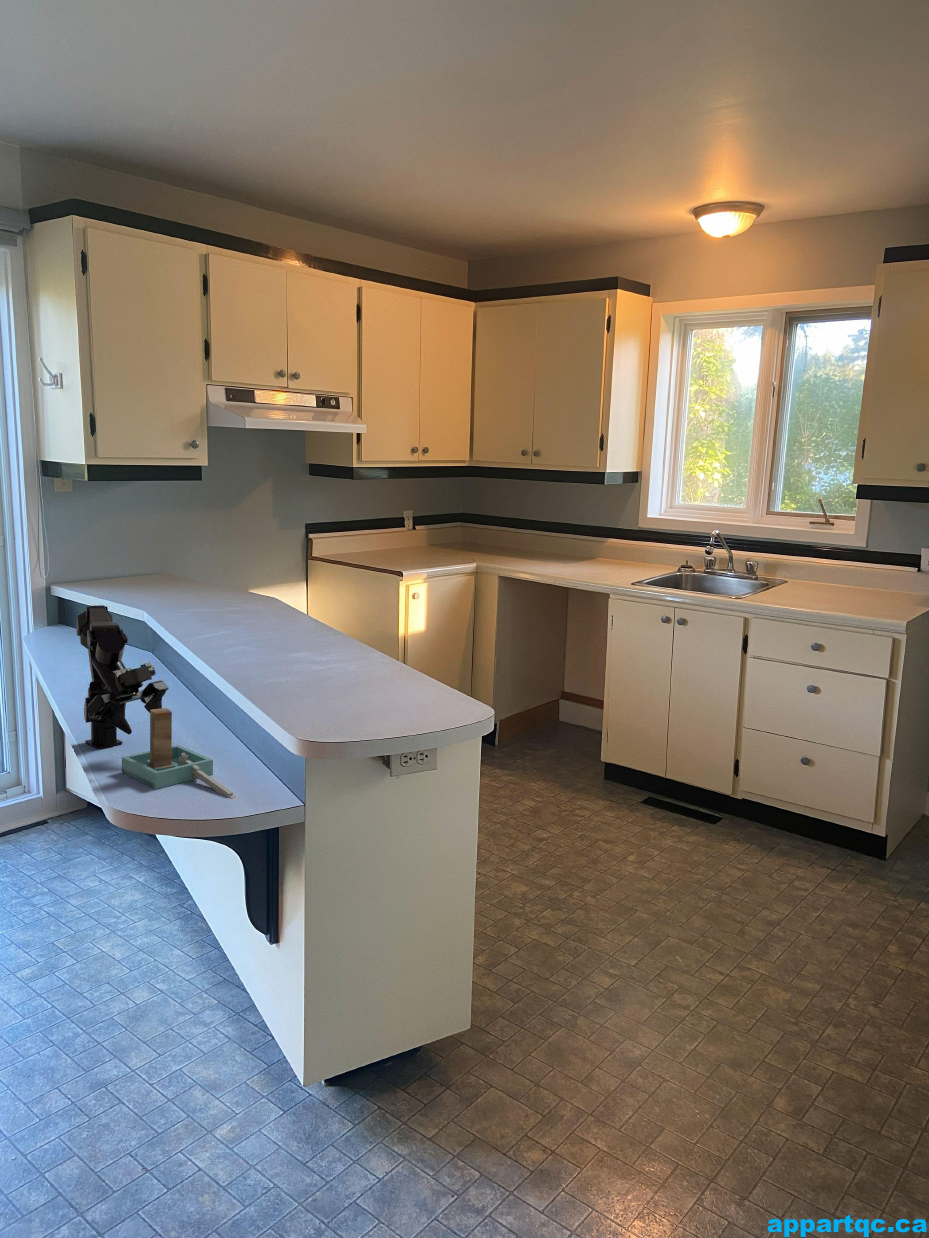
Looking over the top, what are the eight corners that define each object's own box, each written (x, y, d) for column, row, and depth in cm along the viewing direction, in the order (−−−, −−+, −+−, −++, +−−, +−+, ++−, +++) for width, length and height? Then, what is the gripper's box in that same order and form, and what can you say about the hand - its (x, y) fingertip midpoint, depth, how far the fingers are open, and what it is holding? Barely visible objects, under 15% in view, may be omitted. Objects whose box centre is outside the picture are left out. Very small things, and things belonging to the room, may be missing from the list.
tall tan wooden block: (146, 766, 198) (146, 708, 196) (166, 763, 201) (166, 706, 198) (155, 775, 193) (155, 715, 191) (175, 772, 196) (175, 713, 193)
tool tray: (121, 772, 197) (121, 757, 196) (177, 759, 207) (177, 744, 207) (156, 789, 188) (156, 773, 187) (212, 774, 198) (213, 759, 198)
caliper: (177, 779, 198) (177, 752, 197) (181, 778, 199) (181, 751, 198) (232, 801, 185) (232, 772, 184) (236, 800, 186) (236, 771, 185)
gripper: (95, 659, 191) (130, 718, 188) (163, 646, 207) (196, 700, 204) (71, 688, 196) (105, 746, 193) (139, 673, 212) (172, 727, 209)
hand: (147, 728), depth 199 cm, fingers open, 9 cm apart
